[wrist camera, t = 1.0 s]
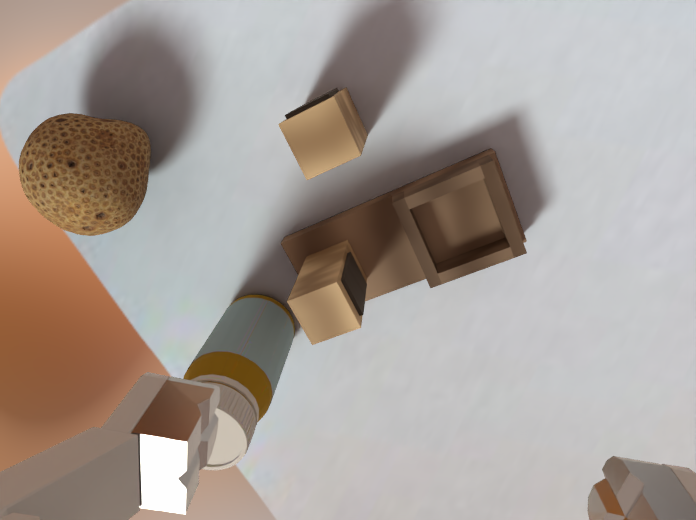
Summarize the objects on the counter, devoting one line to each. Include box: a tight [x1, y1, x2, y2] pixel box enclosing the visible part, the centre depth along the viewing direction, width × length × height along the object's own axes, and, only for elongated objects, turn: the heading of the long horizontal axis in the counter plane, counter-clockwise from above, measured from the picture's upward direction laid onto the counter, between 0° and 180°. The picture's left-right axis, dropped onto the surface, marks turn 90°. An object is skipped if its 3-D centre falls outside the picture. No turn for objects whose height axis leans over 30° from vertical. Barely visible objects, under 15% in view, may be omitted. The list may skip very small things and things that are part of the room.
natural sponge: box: [19, 113, 151, 236], centre depth 36 cm, size 9×9×10 cm
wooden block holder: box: [281, 148, 527, 345], centre depth 36 cm, size 19×8×10 cm, turn 116°
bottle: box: [184, 295, 295, 470], centre depth 39 cm, size 7×7×15 cm
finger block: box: [278, 88, 368, 180], centre depth 34 cm, size 4×4×8 cm
